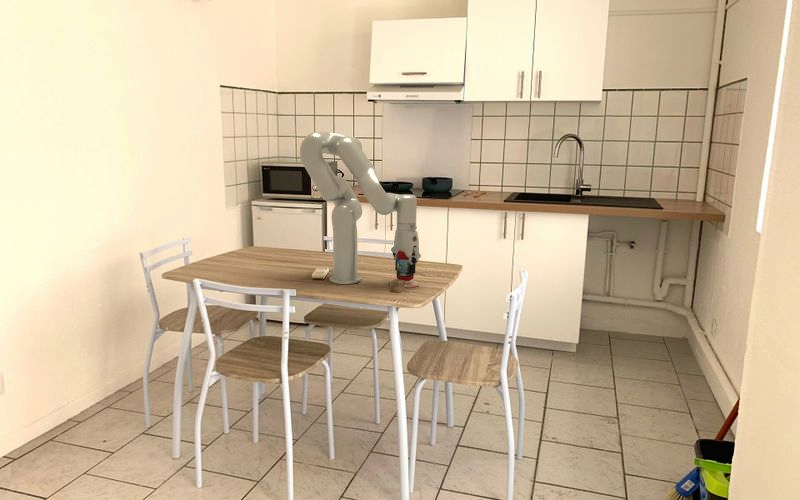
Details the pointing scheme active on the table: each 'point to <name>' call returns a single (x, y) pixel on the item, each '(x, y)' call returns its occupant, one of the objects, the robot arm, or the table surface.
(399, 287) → the walnut block
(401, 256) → the beverage can
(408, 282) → the coaster
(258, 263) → the table surface
